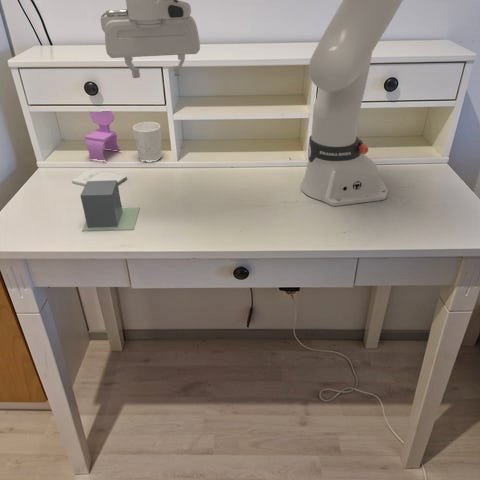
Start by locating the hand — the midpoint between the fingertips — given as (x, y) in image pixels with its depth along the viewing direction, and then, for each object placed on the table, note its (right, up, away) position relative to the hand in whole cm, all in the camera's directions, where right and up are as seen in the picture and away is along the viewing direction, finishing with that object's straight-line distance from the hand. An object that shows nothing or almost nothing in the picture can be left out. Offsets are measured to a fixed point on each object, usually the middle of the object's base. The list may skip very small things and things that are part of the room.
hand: (157, 76), depth 105 cm
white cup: (-9, -12, +37) cm, 40 cm away
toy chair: (-23, -11, +38) cm, 46 cm away
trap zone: (-12, -32, +8) cm, 35 cm away
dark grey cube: (-14, -32, +8) cm, 36 cm away
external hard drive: (-20, -21, +25) cm, 38 cm away
